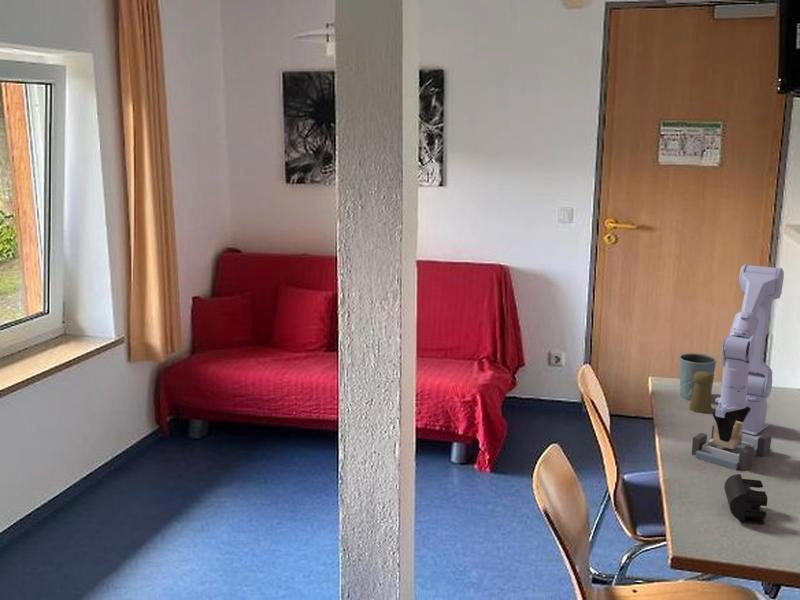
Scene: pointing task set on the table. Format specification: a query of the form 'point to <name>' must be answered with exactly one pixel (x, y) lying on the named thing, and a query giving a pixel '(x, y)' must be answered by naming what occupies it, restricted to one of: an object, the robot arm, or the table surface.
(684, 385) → the grey-green cup
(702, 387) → the cork
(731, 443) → the block
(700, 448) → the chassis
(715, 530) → the table surface
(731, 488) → the end cap
